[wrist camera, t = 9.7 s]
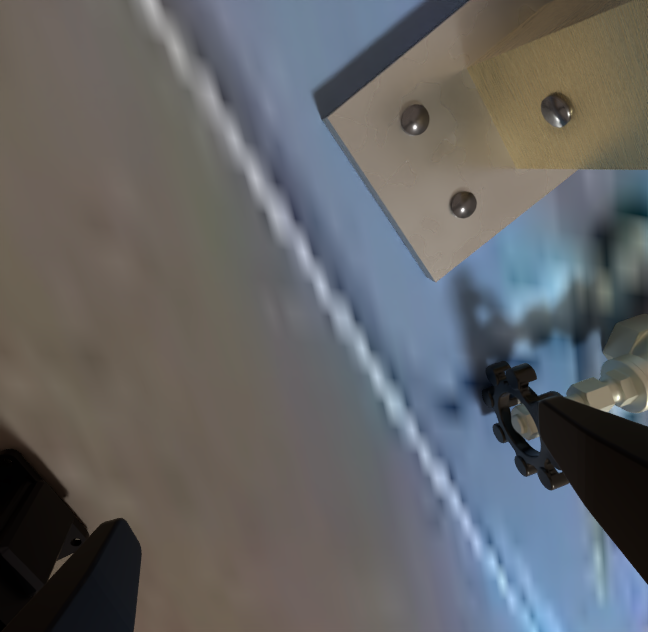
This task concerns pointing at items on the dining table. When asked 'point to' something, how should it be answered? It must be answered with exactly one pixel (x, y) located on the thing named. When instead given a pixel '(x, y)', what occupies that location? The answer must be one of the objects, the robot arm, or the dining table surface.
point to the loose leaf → (571, 86)
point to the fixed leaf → (441, 141)
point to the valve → (568, 396)
